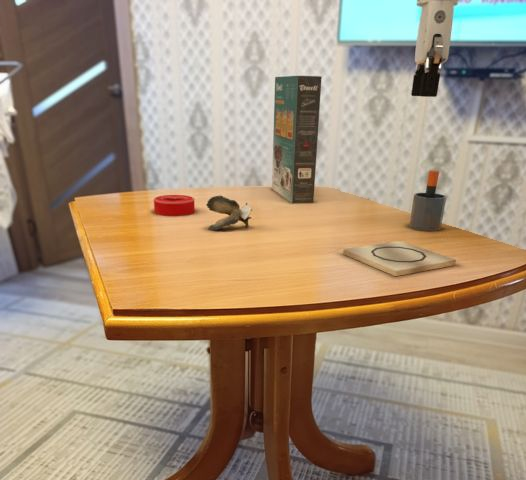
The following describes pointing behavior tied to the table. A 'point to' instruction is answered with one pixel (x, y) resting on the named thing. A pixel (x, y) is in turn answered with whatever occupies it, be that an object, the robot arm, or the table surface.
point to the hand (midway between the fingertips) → (423, 96)
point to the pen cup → (427, 212)
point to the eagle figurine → (228, 212)
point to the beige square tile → (399, 258)
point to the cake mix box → (295, 136)
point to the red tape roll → (174, 205)
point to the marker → (432, 184)
